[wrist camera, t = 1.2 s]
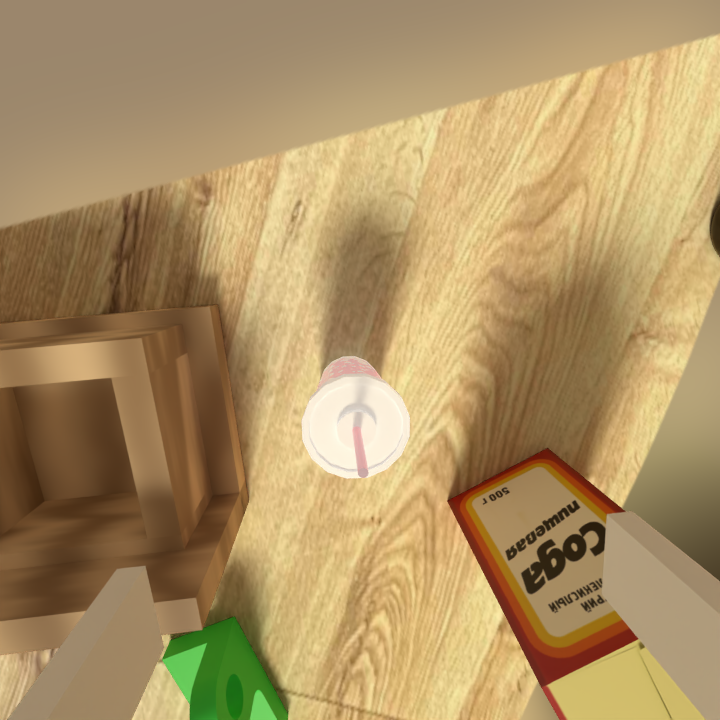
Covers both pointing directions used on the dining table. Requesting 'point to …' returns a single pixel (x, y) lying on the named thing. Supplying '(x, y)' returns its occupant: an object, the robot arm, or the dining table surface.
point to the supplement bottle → (716, 230)
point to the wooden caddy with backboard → (114, 467)
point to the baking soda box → (564, 592)
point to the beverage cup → (354, 420)
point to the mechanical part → (222, 675)
